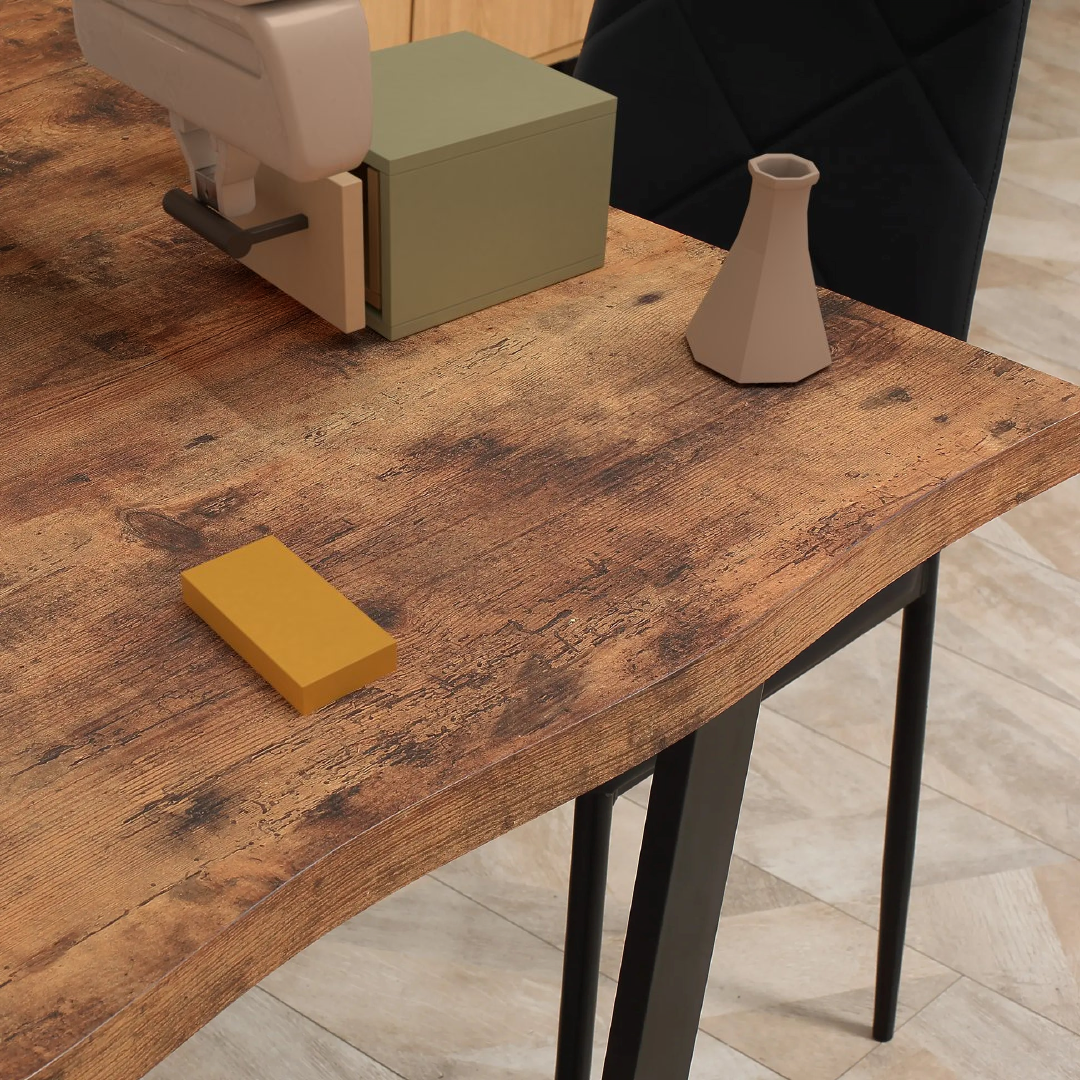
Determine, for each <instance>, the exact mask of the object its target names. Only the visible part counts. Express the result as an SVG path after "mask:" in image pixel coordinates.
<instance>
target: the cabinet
mask: <svg viewBox="0 0 1080 1080" xmlns="http://www.w3.org/2000/svg"><path fill="white" fill-rule="evenodd" d="M370 54H371V71H372V99H373V132H372V142H371V146H370V148H369V151H368V152H367V154H366V156H365V158H364V159H363V162H365V163H367V164H369V165H370V166H372V167H374V168H376V169H378V170H379V171H381V172H380V202H381V267H382V309H378V308H376V307H375V306H373V305H372V304H370V303H368V302H367V301H365V326H366V327H367V326H368V328H369V329H370V328H371V329H372V330H373V331H375V332H377V334H379V335H381V336H382V337H384V338H385V339H387V340H388V341H390V342H394V341H397V340H400V339H403V338H407V337H409V336H411V335H414V334H417V333H420V332H423V331H425V330H428V329H431V328H434V327H436V326H437V327H438V326H440V325H441V324H445V323H448V322H451V321H453V320H456V319H458V318H463V317H464V316H468V315H470V314H473V313H476V312H478V311H481V310H485V309H487V308H490V307H493V306H495V305H496V306H497V305H499V304H501V303H504V302H506V301H509V300H510V301H511V300H512V299H514V298H517V297H518V298H519V297H520V296H524V295H526V294H530V293H532V292H534V291H537V290H540V289H543V288H546V287H549V286H552V285H554V284H557V283H560V282H562V281H566V280H568V279H571V278H575V277H576V276H577V277H578V276H580V275H583V274H585V273H588V272H591V271H593V270H596V269H599V268H603V267H604V266H605V260H606V248H607V247H606V246H607V235H608V225H609V224H608V221H609V209H610V198H611V197H610V196H611V187H612V186H611V185H612V184H611V183H612V169H613V158H614V147H615V146H614V144H615V133H616V121H617V109H618V97H617V96H615V95H613V94H611V93H609V92H606V91H604V90H602V89H599V88H597V87H595V86H593V85H591V84H588V83H587V82H584V81H581V80H579V79H577V78H574V77H572V76H570V75H568V74H565V73H563V72H561V71H558V70H556V69H554V68H553V67H550V66H548V65H546V64H543V63H541V62H539V61H537V60H534V59H532V58H530V57H527V56H525V55H523V54H520V53H518V52H516V51H513V50H512V49H509V48H507V47H505V46H502V45H500V44H498V43H496V42H494V41H491V40H489V39H487V38H485V37H482V36H480V35H478V34H475V33H474V32H471V31H468V30H466V29H464V30H460V31H455V32H451V33H447V34H443V35H437V36H433V37H430V38H424V39H420V40H416V41H412V42H408V43H402V44H399V45H394V46H390V47H385V48H381V49H377V50H372V51H370Z"/></svg>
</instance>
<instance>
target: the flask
mask: <svg viewBox="0 0 1080 1080" xmlns="http://www.w3.org/2000/svg"><path fill="white" fill-rule="evenodd" d="M747 167H748V168H747V169H748V171H749V174H750V176H751V177H752V182H751V189H750V195H749V202H748V205H747V207H746V209H745V210H746V211H745V213H744V216H743V219H742V222H741V225H740V228H739V231H738V234H737V236H736V238H735V240H734V242H733V243H732V245H731V248H730V249H729V251H728V253H727V255H726V257H725V258H724V260H723V263H722V264H721V267H720V268H719V270H718V272H717V273H716V276H715V278H714V280H713V281H712V283H711V285H710V287H709V288H708V289H707V292H706V293H705V295H704V297H702V300H701V302H700V304H699V305H698V306H697V309H696V311H695V312H694V314H693V315H692V317H691V319H690V321H689V323H688V325H687V326H686V328H685V330H684V332H683V333H684V335H685V338H686V341H687V343H688V346H689V348H690V351H691V353H692V354H693V355H692V356H693V358H694V361H696V362H698V363H700V364H701V365H703V366H706V367H707V368H709V369H711V370H713V371H715V372H716V373H719V374H721V375H723V376H725V377H726V378H729V379H730V380H733V381H735V382H736V383H738V384H759V383H760V384H762V383H764V384H765V383H766V384H767V383H797V382H799V381H801V380H803V379H805V378H807V377H809V376H811V375H813V374H814V373H817V372H818V371H820V370H822V369H824V368H826V367H828V366H830V365H832V364H833V361H832V356H831V351H830V345H829V342H828V337H827V334H826V333H827V332H826V329H825V328H826V327H825V324H824V320H823V319H824V318H823V316H822V315H823V314H822V311H821V307H820V303H819V297H818V293H817V288H816V282H815V277H814V272H813V266H812V261H811V256H810V251H809V235H808V234H809V233H808V231H809V230H808V208H809V201H810V195H811V189H812V186H813V185H816V184H817V183H818V181H819V179H820V171H819V170H818V168H817V167H816V165H815V163H814V162H813V161H811V160H808V159H805V158H803V157H800V156H799V155H795V154H793V153H765V154H762V155H759V156H756V157H753V158H751V159H748V163H747Z"/></svg>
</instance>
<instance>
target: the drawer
mask: <svg viewBox="0 0 1080 1080" xmlns="http://www.w3.org/2000/svg"><path fill="white" fill-rule="evenodd" d="M380 172H381V171H379V170H378V169H376V168H374V167H372V166H370V165H369V164H367V163H365V162H363V161H362V162H361V164H360V165H359V166H358V167H357V168H355V169H352V170H350V171H346V172H343V173H340V174H337V175H334V176H331V177H327V178H324V179H320V180H316V181H313V182H308V183H299V182H296V181H294V180H292V179H290V178H289V177H287V176H285V175H284V174H282V173H280V172H278V171H277V170H275V169H273V168H271V167H269V166H268V165H266V164H264V163H262V162H260V165H259V167H258V170H257V173H256V175H255V177H254V187H255V199H256V205H255V208H254V210H253V211H252V212H251V213H249V214H246V215H242V216H239V217H236V218H232V219H230V218H227V217H225V216H224V215H222V214H220V213H219V212H217V211H216V210H214V209H213V208H211V207H209V206H208V205H206V204H204V203H203V202H201V201H200V200H198V199H196V198H195V197H194V196H193V194H192V192H190V193H188V192H187V191H185V190H183V189H182V188H179V187H175V188H171V189H169V190H167V192H166V193H165V194H164V196H163V198H162V203H161V206H162V209H163V211H164V212H165V214H167V215H169V216H170V217H171V218H173V219H174V220H175V221H177V222H178V223H180V224H182V225H183V226H185V228H188V229H189V230H190V231H192V232H193V233H195V234H196V235H198V236H199V237H201V238H202V239H203V240H204V241H206V242H208V243H210V244H211V245H212V246H214V247H216V248H217V249H218V250H220V251H221V252H223V253H224V254H225V255H227V256H228V257H230V258H231V259H235V260H236V261H238V262H239V263H241V264H243V266H246V268H248V269H250V270H251V271H253V272H254V273H256V274H257V275H258V276H260V277H261V278H263V279H265V280H266V281H267V282H269V283H270V284H272V285H273V286H275V287H276V288H278V289H279V290H280V291H283V292H284V293H285V294H287V296H290V297H291V298H292V299H294V300H295V301H297V302H298V303H300V304H301V305H303V306H304V307H306V308H307V309H309V310H311V312H313V313H314V314H316V315H318V316H319V317H320V318H322V319H323V320H325V321H327V323H329V324H330V325H332V326H334V327H335V328H337V329H338V330H340V331H341V332H342V333H344V334H346V335H347V334H350V333H353V332H356V331H359V330H362V329H364V328H366V324H365V301H367V302H368V303H370V304H372V305H373V306H375V307H376V308H378V309H382V267H381V202H380Z"/></svg>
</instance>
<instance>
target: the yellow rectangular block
mask: <svg viewBox="0 0 1080 1080" xmlns="http://www.w3.org/2000/svg"><path fill="white" fill-rule="evenodd" d="M180 581H181V582H180V583H181V591H182V598H183V602H184V603H185V604H186V605H187V606H188V607H189V608H190V609H191V610H192V611H193V612H194V613H195V614H196V615H198V616H199V618H200V619H202V620H203V621H204V623H206V624H207V625H208V626H209V627H210V628H211V629H212V630H213V631H214V632H215V633H216V634H217V635H218V636H219V637H220V638H221V639H222V640H223V641H224V642H226V644H228V645H229V646H230V647H231V648H232V649H233V651H235V652H236V654H238V655H239V656H240V657H241V658H242V659H243V660H244V661H245V662H246V663H247V664H249V666H251V668H253V670H255V671H256V672H257V673H258V674H259V675H260V676H261V677H262V678H263V679H264V680H265V681H266V682H267V683H268V684H269V685H270V686H271V687H272V688H273V689H274V690H275V691H276V692H278V693H279V694H280V695H281V696H282V697H283V698H284V699H285V700H286V701H287V702H288V703H289V704H290V705H291V706H292V707H293V708H294V709H295V710H296V711H298V713H299V714H300V715H302V717H303V716H304V717H305V716H307V715H310V714H311V713H313V712H315V711H317V710H319V709H322V708H323V707H325V706H327V705H329V704H331V703H333V702H335V701H337V700H339V699H341V698H343V697H345V696H347V695H349V694H351V693H353V692H355V691H356V690H357V691H358V690H359V689H361V688H363V687H365V686H367V685H369V684H371V683H373V682H375V681H377V680H379V679H381V678H383V677H385V676H387V675H389V674H391V673H393V672H395V671H397V670H398V641H397V640H396V639H395V638H394V637H393V636H391V634H390V633H388V632H387V631H386V630H384V628H382V627H381V626H380V625H378V624H377V622H375V621H374V620H373V619H371V617H369V616H368V615H367V614H366V613H365V612H363V611H362V610H361V609H360V608H359V607H358V606H356V605H355V604H354V603H353V602H352V601H351V600H349V599H348V598H347V597H346V596H345V595H344V594H342V593H341V592H340V591H339V590H338V589H336V588H335V587H334V586H333V585H332V584H331V583H330V582H328V581H327V580H326V579H325V578H324V577H323V576H322V575H320V573H318V572H316V570H315V569H313V568H312V567H311V566H310V565H308V564H307V563H306V562H305V561H304V560H303V559H301V558H300V557H299V556H298V555H297V554H296V553H294V552H293V550H291V549H290V548H289V547H287V546H286V545H285V544H284V543H283V542H282V541H280V540H279V539H278V538H277V537H276V536H274V534H269V535H268V536H265V537H263V538H260V539H258V540H255V541H253V542H250V543H249V544H248V543H247V544H246V545H243V546H241V547H239V548H237V549H235V550H232V551H229V552H227V553H225V554H222V555H220V556H218V557H215V558H213V559H211V560H210V559H209V560H207V561H206V562H203V563H201V564H199V565H195V566H194V567H191V568H189V569H186V570H184V571H182V572H180Z"/></svg>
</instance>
